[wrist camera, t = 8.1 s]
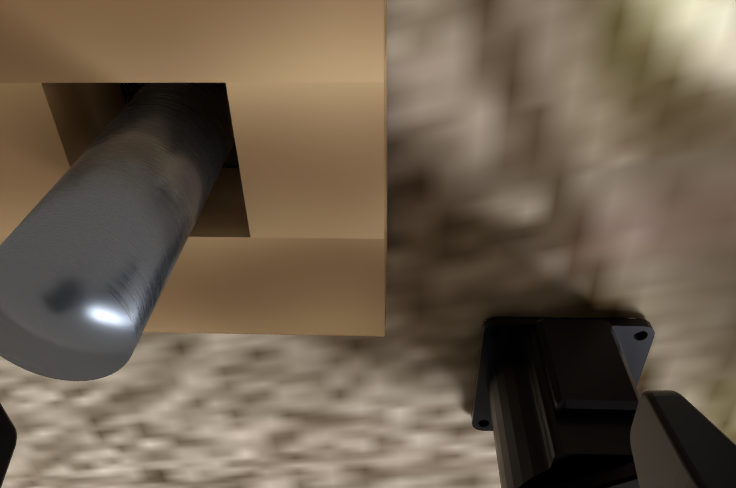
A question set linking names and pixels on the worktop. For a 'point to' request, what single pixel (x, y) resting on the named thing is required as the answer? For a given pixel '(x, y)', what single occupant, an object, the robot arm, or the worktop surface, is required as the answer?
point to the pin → (111, 233)
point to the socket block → (252, 138)
